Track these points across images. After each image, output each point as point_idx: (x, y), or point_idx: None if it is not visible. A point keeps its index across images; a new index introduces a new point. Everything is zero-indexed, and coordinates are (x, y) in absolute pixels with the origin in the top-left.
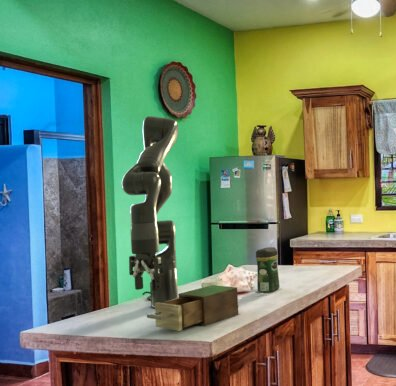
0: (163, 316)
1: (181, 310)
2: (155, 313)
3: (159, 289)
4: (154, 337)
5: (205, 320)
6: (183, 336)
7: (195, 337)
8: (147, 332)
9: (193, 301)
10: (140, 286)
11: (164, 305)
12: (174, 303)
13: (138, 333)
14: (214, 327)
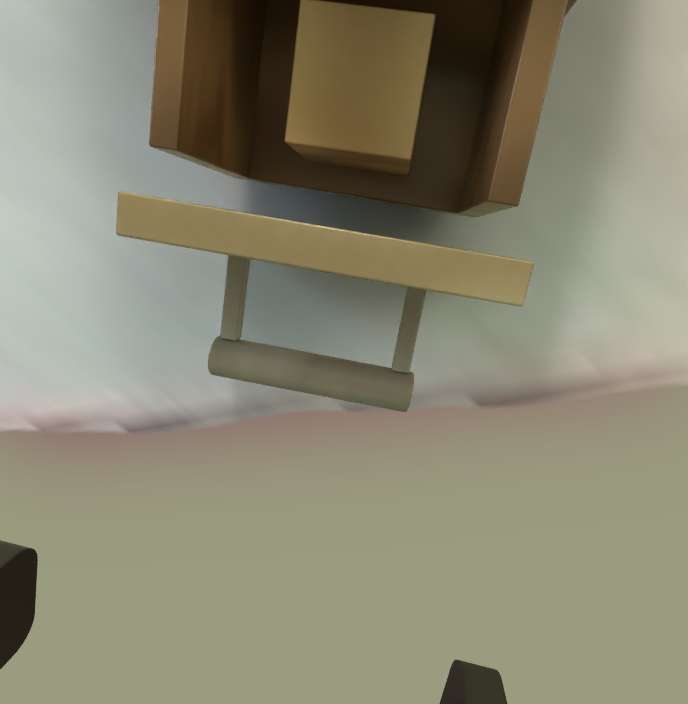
0: (411, 389)
1: (412, 145)
2: (236, 305)
3: (498, 684)
4: None
5: None
6: (546, 320)
7: (656, 320)
8: (214, 299)
9: (543, 19)
10: (2, 612)
11: (286, 263)
12: (207, 20)
13: (173, 330)
14: (660, 62)
